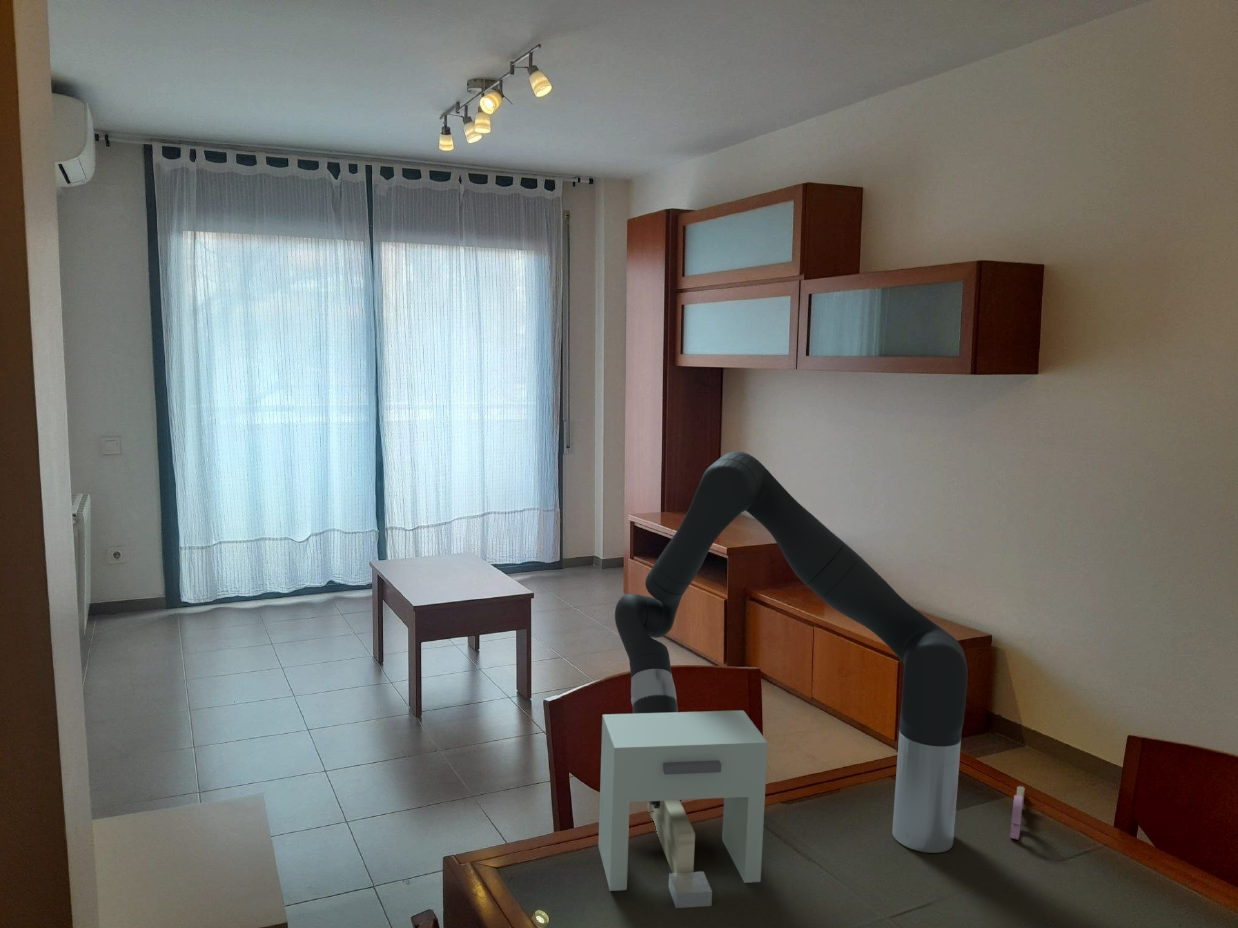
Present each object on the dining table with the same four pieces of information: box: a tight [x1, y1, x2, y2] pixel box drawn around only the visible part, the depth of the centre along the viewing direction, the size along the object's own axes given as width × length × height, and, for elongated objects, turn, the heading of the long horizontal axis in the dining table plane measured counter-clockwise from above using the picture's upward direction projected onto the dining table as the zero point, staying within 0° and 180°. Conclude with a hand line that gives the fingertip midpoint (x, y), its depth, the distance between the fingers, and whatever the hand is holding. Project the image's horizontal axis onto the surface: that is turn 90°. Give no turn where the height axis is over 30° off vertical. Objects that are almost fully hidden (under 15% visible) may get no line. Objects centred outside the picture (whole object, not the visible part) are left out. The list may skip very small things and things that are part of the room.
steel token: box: [668, 871, 713, 909], centre depth 128 cm, size 5×5×2 cm
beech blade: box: [647, 800, 696, 873], centre depth 142 cm, size 22×2×8 cm, turn 9°
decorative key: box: [1009, 785, 1026, 841], centre depth 154 cm, size 7×1×20 cm
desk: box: [598, 709, 769, 892], centre depth 135 cm, size 13×22×21 cm, turn 99°
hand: (666, 805), depth 144 cm, fingers closed on beech blade, 2 cm apart
